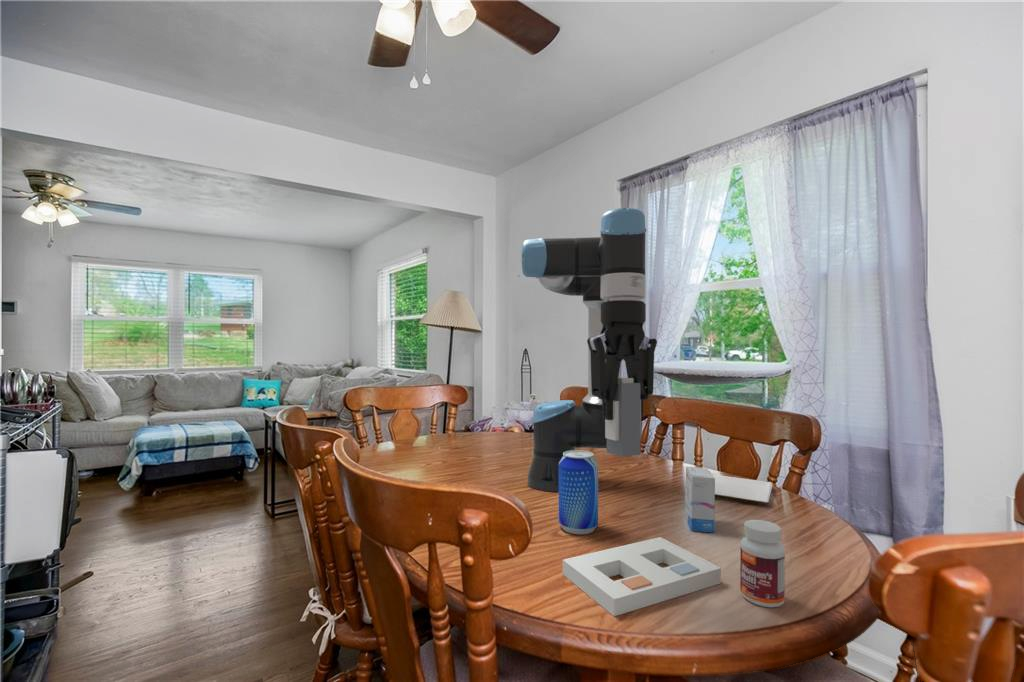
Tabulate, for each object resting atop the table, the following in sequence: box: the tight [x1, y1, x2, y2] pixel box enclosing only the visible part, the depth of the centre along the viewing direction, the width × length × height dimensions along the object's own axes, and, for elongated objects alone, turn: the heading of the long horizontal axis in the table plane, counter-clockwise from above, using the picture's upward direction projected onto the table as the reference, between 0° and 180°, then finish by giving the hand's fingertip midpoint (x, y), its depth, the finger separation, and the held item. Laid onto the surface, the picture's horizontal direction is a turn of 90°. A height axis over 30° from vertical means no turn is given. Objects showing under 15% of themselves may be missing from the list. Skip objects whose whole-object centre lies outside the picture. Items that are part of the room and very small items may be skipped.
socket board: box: [562, 536, 722, 617], centre depth 80 cm, size 14×22×3 cm, turn 116°
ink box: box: [684, 466, 716, 533], centre depth 104 cm, size 9×5×12 cm, turn 168°
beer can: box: [558, 449, 599, 535], centre depth 102 cm, size 8×8×16 cm
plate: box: [711, 473, 773, 505], centre depth 127 cm, size 19×19×2 cm
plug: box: [606, 377, 642, 458], centre depth 81 cm, size 4×4×13 cm
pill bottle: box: [739, 519, 786, 608], centre depth 74 cm, size 6×6×11 cm
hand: (623, 437), depth 80 cm, fingers closed on plug, 4 cm apart
